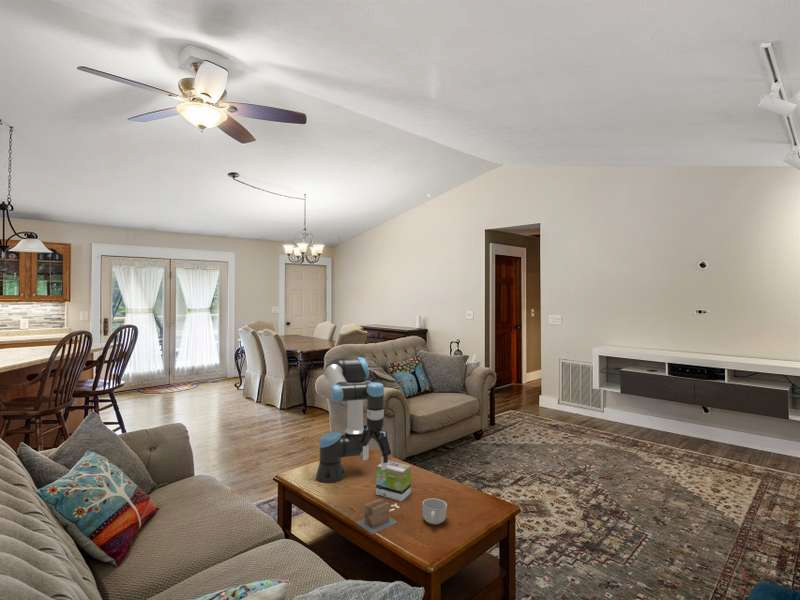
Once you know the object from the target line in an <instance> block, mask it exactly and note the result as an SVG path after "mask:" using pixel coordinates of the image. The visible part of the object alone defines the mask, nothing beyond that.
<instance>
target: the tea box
mask: <svg viewBox="0 0 800 600" xmlns="http://www.w3.org/2000/svg"><path fill="white" fill-rule="evenodd" d="M375 472H376V475H375V484H376V485H375V494H376V496H382V497H384V498H389V499H392V500H395V501H398V502H403V501H404V500H405V499H406V498H407V497H409V495H411V493H412V489H411V488H412V465H410V464H405V463H400V462H396V461H393V460H388V462H387V469H385V470H381V463H379V464H378V465H376V469H375Z"/></svg>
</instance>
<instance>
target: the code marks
mask: <svg viewBox="0 0 800 600" xmlns="http://www.w3.org/2000/svg"><path fill="white" fill-rule="evenodd" d="M390 507H396V508H397V509H399V508H400V506H398V503H396V502H395V503H394V504H391V505H390ZM395 510H396V509H395V508H392V509H389V513H390V512H392V511H395Z"/></svg>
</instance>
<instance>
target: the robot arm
mask: <svg viewBox="0 0 800 600" xmlns="http://www.w3.org/2000/svg"><path fill="white" fill-rule="evenodd" d="M323 375H324V378H325V380H327V381H328V382H329V384H330V399H331V402H338V403H339V402H340V403H341V402H347V428H346V429H345V430H344V434H342V433H341V432H339V431H330V432H327V433H324V434H323V435H322V436H320V438H319V445H318V447H319V464H318V467H317V471H316V474H315V476H316V477H315V479H316V481H318V482H321V483H324V482H325V484H329V483H330V484H331V483H336V482H339V481H341V480H343V479H344V478H345V470H344V467H343V464H342V458H347V457H359V456H362V460H363V461H366V460H367V461H368V460H369V454H370V453H369V449H370V448H369V446H370V441H371V440H372V439H373V440H375V442H377V445H378V447H379V448H380V449H379V450H380V451H381V456H380V457H381V458H380V459H381V460H380V461H381V463H380V464H381V470H385V469H387V462H388V459H389V455H390V456H391V455H392V450H391V447H390V442H389V440H388V439H389V438H388V434H387V431H383V429H382V428H383V427H384V416H385V414H384V413H385V410H384V406H385V405H384V404H385V400H384V399H385V388H384V384H383V383H381V382H372V381H369V380H366V379H368V378H369V377H370V368H369V365H368V361H367V360H366V358H365V357H363V356H360V357H359V356H355V357H354V356H352V357H337V358H333V359H332V360H330V361H329V362H328V363H326V365H325V367H324V370H323ZM364 400H365V401H366V417H367V418H366V424H365V425H364Z"/></svg>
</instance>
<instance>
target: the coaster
mask: <svg viewBox="0 0 800 600" xmlns="http://www.w3.org/2000/svg"><path fill="white" fill-rule="evenodd" d="M355 523H356V525H358V526H360V527H361V528H363V529H364V530H366V531H367V532H368V533H370V534H371V535H374V534H376V533H379V532H381V531H384V530H385V529H388V528H391V527H392V526H394V525H397V524H398V523H399V522H398V521H397V520H395V519H394V518H392V517H391V516H389V522H386V523H384V524H382V525H380V526H377V527H375V528H372V527H370V526H369V525H367V524H366V523H365V517H364V518H363V519H359V520H357V521H355Z"/></svg>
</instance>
